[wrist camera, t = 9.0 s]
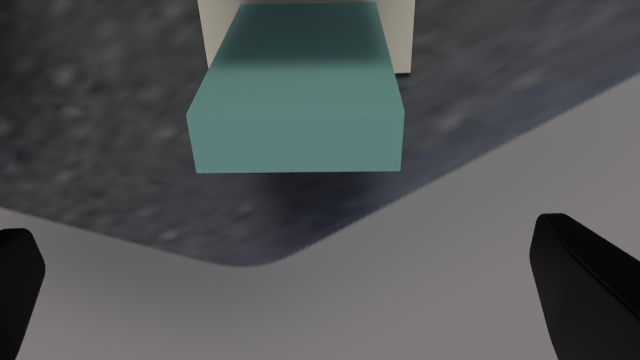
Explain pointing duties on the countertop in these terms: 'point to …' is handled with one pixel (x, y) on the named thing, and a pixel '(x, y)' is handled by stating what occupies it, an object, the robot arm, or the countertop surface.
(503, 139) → the countertop surface
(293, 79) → the end domino
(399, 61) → the pad
